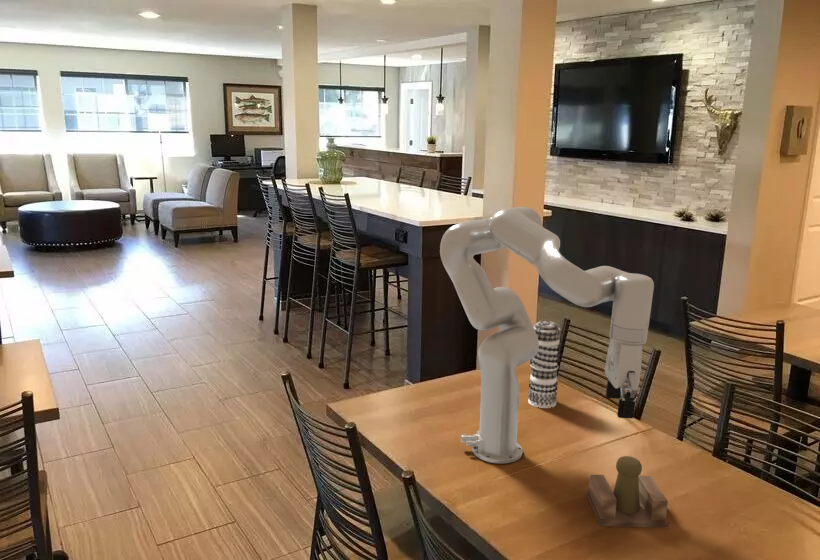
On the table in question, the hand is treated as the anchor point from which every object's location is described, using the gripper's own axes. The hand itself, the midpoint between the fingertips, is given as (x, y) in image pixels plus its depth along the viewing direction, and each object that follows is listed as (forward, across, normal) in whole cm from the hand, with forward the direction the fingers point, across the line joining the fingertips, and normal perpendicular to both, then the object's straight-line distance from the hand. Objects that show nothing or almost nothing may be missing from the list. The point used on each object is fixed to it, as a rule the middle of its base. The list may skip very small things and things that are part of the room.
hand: (618, 407), depth 140 cm
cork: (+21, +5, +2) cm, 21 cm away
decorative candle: (+23, -51, -7) cm, 57 cm away
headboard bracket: (+21, +6, +2) cm, 22 cm away
